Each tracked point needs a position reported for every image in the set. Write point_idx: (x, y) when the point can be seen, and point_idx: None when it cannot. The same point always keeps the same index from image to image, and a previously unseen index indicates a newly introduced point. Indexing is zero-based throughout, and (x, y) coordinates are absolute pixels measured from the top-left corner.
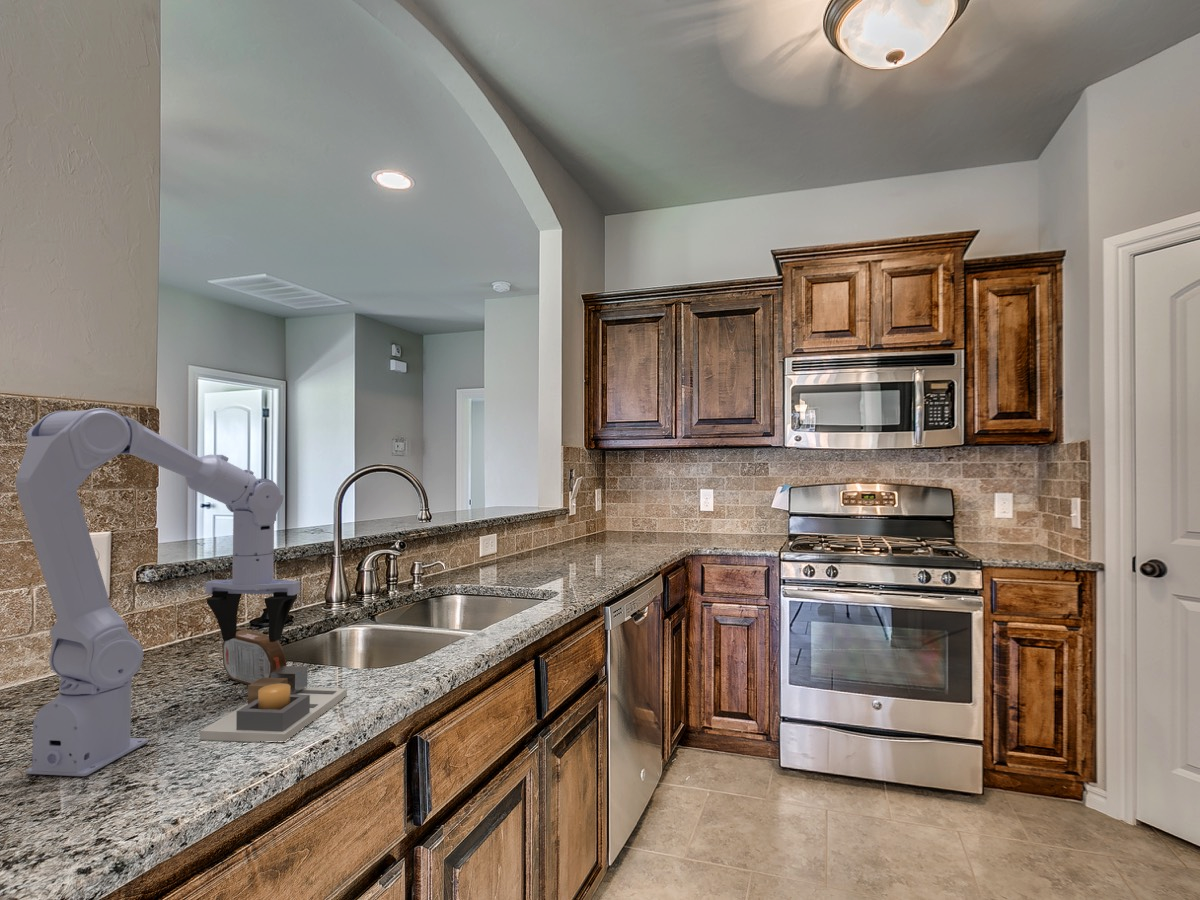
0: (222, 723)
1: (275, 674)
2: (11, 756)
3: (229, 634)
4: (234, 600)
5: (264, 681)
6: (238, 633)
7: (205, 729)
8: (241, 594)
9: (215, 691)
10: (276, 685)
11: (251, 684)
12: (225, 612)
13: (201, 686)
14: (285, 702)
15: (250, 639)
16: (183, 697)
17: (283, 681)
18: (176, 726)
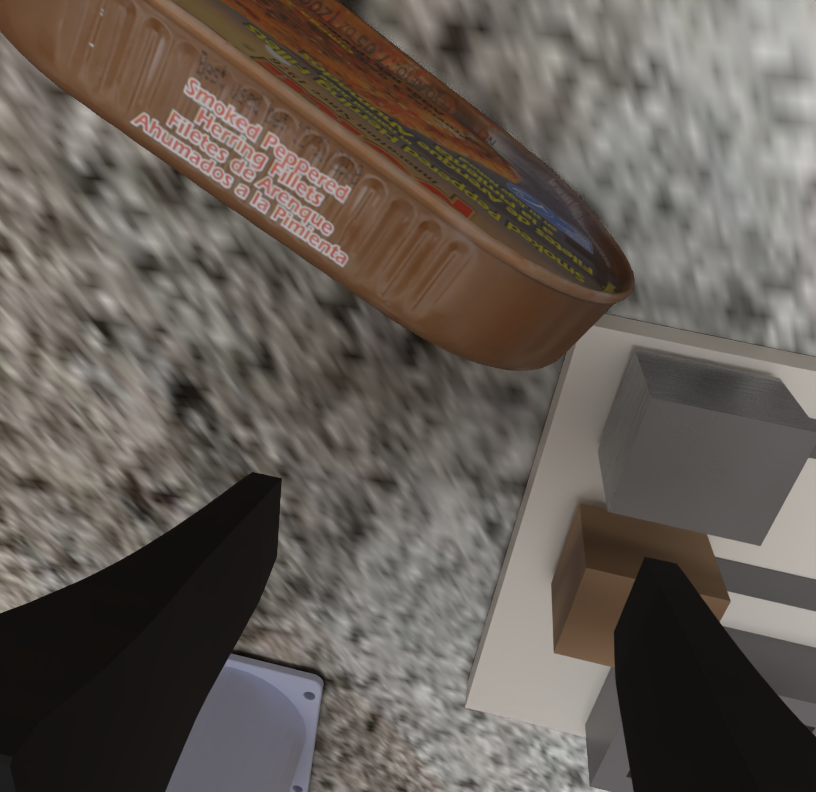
0: (512, 673)
1: (637, 516)
2: None
3: (263, 564)
4: (102, 767)
5: (616, 619)
6: (93, 58)
7: (478, 702)
8: (50, 712)
9: (242, 228)
10: None
11: (565, 644)
12: (163, 759)
13: (117, 137)
14: None
15: (316, 263)
16: (145, 296)
17: None
18: (327, 578)
